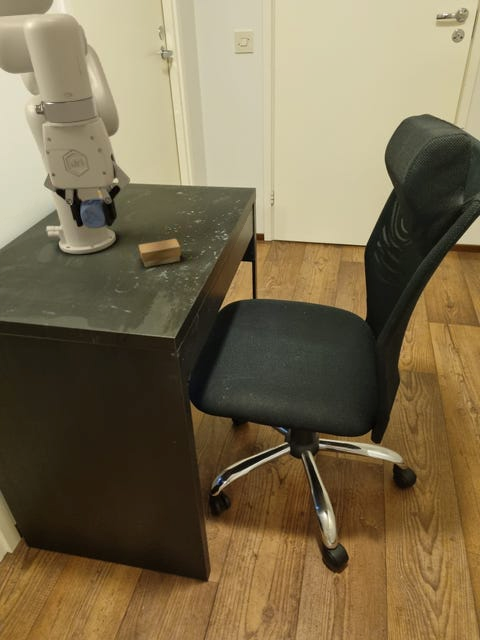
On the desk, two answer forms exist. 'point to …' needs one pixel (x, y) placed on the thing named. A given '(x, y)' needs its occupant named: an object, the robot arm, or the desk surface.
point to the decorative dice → (93, 213)
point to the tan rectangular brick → (160, 252)
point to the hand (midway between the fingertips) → (96, 222)
